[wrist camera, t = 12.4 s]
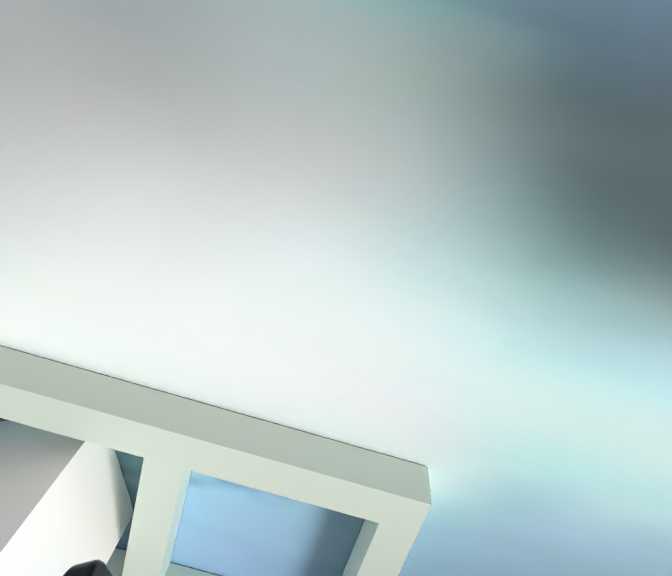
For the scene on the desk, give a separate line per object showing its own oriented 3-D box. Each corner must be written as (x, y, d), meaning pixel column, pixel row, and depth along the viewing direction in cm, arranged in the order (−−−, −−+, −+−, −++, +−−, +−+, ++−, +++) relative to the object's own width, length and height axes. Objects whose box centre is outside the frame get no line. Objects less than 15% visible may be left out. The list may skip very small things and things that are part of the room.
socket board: (427, 466, 22) (431, 504, 20) (328, 685, 28) (324, 730, 26) (-60, 328, 21) (-103, 355, 19) (-59, 583, 27) (-92, 622, 25)
